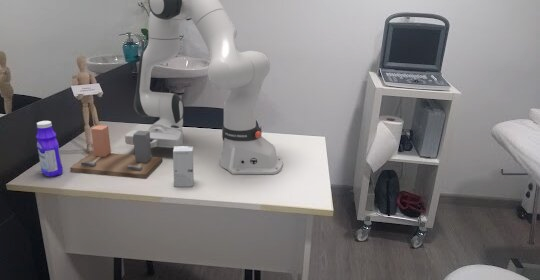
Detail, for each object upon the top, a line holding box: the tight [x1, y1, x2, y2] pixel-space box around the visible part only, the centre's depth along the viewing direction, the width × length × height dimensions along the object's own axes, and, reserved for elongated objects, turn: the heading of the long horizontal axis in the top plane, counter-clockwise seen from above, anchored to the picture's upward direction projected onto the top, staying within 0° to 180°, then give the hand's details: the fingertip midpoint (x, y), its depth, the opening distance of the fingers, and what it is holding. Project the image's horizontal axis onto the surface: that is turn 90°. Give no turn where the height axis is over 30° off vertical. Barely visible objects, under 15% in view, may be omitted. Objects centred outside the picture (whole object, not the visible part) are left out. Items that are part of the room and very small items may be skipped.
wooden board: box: [69, 151, 163, 179], centre depth 138 cm, size 26×14×3 cm, turn 83°
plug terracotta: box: [90, 124, 112, 157], centre depth 142 cm, size 4×4×10 cm
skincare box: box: [172, 145, 195, 188], centre depth 126 cm, size 6×4×12 cm
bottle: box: [35, 120, 64, 177], centre depth 129 cm, size 7×6×17 cm
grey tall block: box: [133, 131, 153, 163], centre depth 138 cm, size 4×4×10 cm
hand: (145, 146), depth 140 cm, fingers closed, pressing on grey tall block
